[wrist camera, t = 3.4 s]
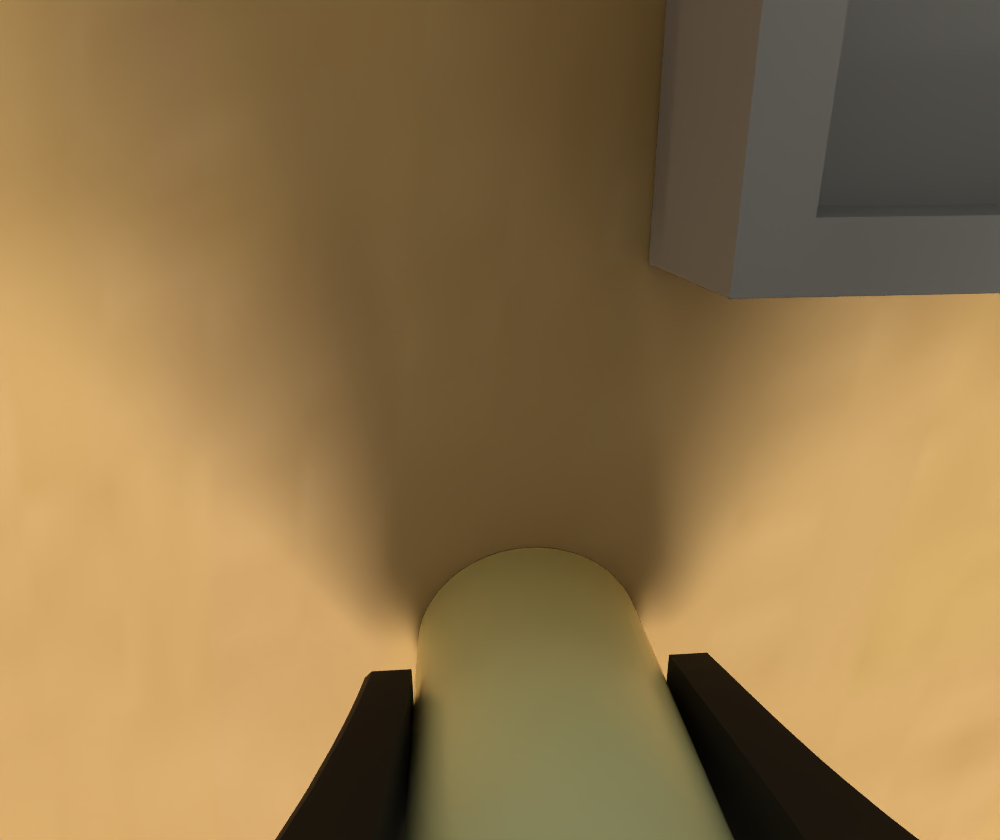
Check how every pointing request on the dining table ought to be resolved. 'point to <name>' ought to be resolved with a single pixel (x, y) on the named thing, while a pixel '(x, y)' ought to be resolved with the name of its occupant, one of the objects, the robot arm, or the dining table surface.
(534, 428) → the dining table surface
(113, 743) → the dining table surface
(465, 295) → the dining table surface
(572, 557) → the pale green cylinder
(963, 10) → the tray
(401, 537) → the dining table surface
